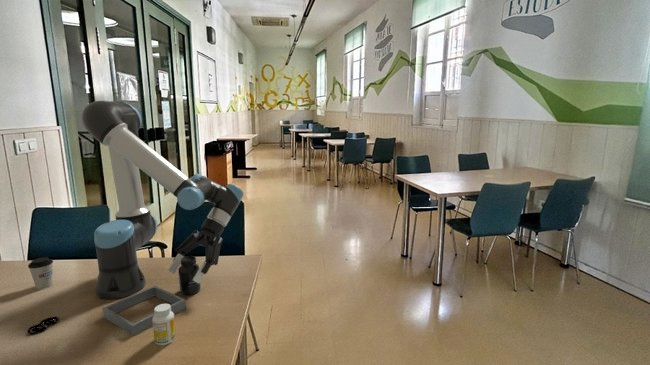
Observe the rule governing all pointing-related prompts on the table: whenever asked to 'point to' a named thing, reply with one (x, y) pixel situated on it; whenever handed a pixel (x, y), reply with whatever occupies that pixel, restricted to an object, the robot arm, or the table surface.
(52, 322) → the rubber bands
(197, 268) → the supplement bottle
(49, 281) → the coffee cup
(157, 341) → the supplement bottle
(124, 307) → the square frame
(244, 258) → the table surface
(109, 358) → the table surface
